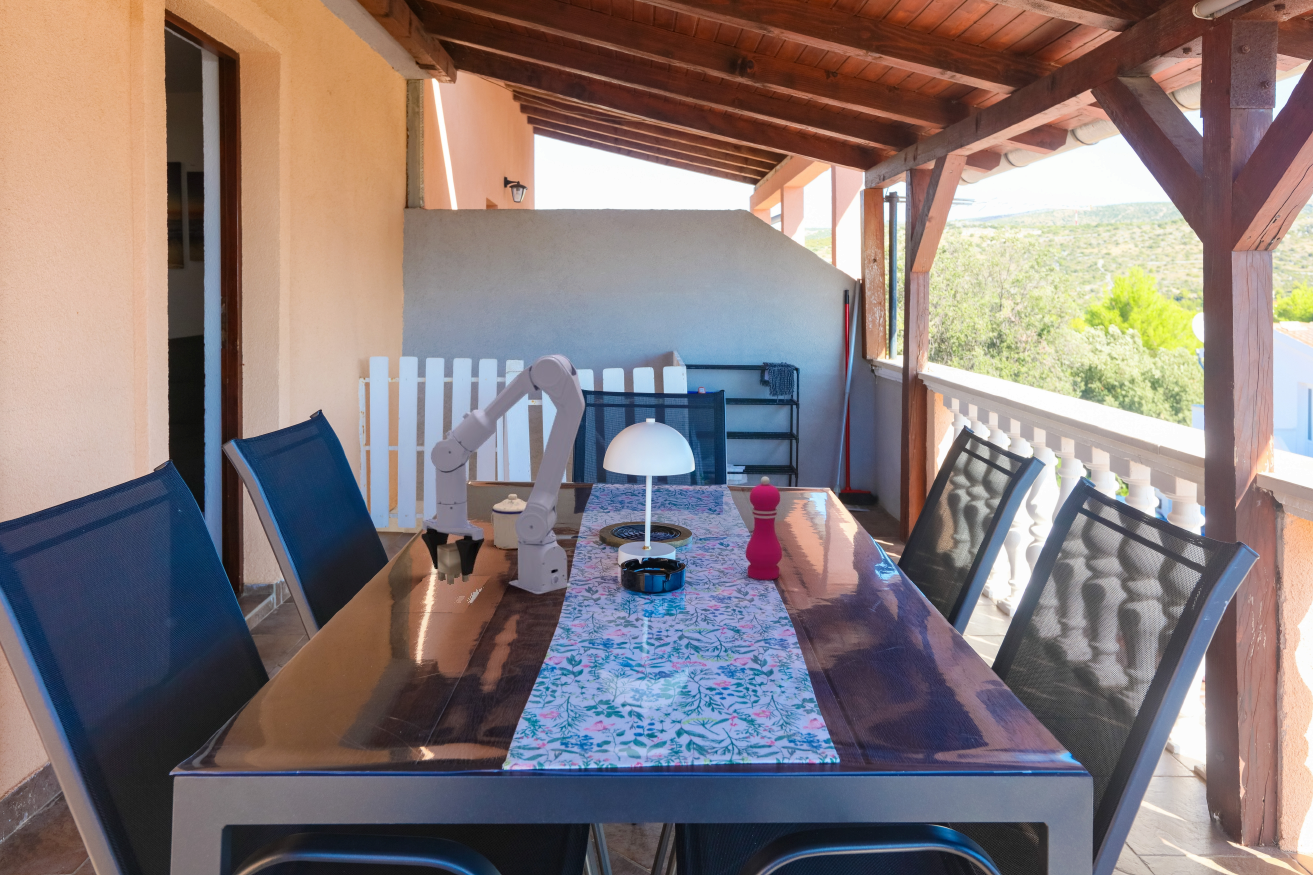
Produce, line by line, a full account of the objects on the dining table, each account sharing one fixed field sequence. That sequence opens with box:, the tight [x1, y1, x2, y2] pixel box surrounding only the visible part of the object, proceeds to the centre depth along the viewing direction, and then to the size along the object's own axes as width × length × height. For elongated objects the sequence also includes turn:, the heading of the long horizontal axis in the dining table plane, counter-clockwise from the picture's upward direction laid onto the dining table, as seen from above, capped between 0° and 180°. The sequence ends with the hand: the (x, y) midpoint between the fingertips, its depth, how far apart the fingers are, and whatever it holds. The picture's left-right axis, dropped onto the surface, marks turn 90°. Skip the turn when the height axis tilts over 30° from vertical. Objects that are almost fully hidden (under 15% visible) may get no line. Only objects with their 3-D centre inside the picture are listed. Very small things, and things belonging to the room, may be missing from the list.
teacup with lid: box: [490, 493, 527, 548], centre depth 199 cm, size 12×9×12 cm
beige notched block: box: [437, 542, 469, 585], centre depth 170 cm, size 4×4×7 cm
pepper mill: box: [745, 476, 783, 581], centre depth 175 cm, size 7×7×20 cm
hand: (453, 571), depth 170 cm, fingers open, 7 cm apart
